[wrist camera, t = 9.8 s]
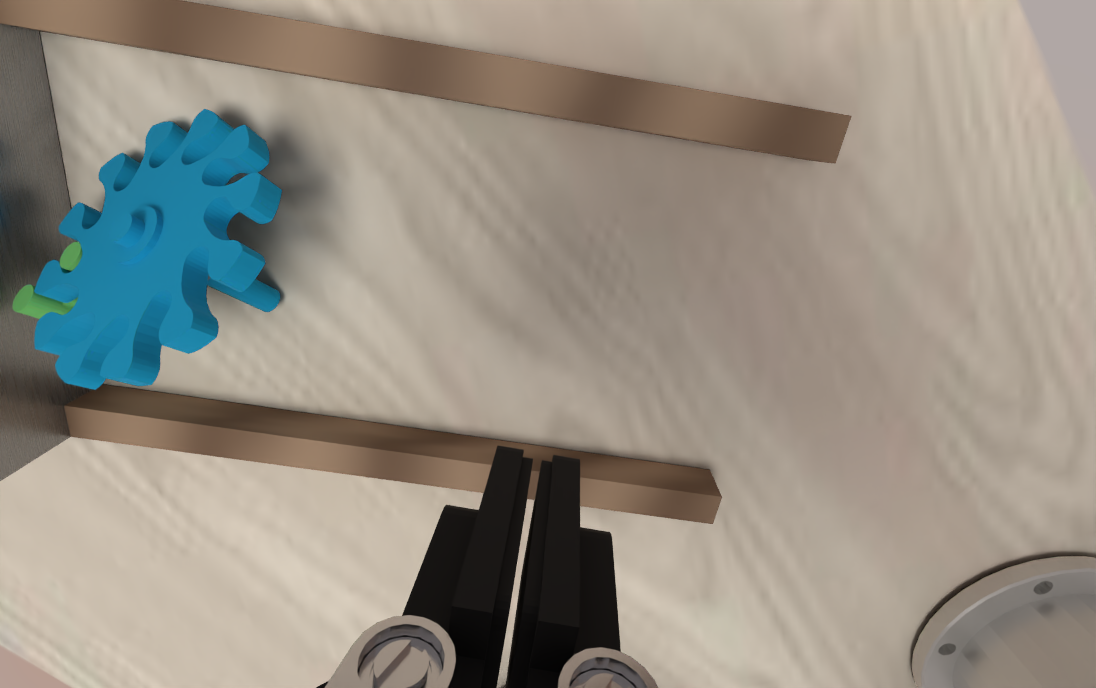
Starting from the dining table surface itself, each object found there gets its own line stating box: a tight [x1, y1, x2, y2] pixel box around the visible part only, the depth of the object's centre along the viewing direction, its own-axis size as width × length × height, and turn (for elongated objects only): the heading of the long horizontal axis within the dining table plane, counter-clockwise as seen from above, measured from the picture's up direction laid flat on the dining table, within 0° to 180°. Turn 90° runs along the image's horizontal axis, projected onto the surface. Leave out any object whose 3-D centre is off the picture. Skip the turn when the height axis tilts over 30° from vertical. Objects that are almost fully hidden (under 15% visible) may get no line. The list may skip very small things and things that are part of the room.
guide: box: [0, 0, 851, 524], centre depth 21 cm, size 28×17×2 cm, turn 81°
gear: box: [13, 109, 282, 390], centre depth 20 cm, size 11×6×10 cm
